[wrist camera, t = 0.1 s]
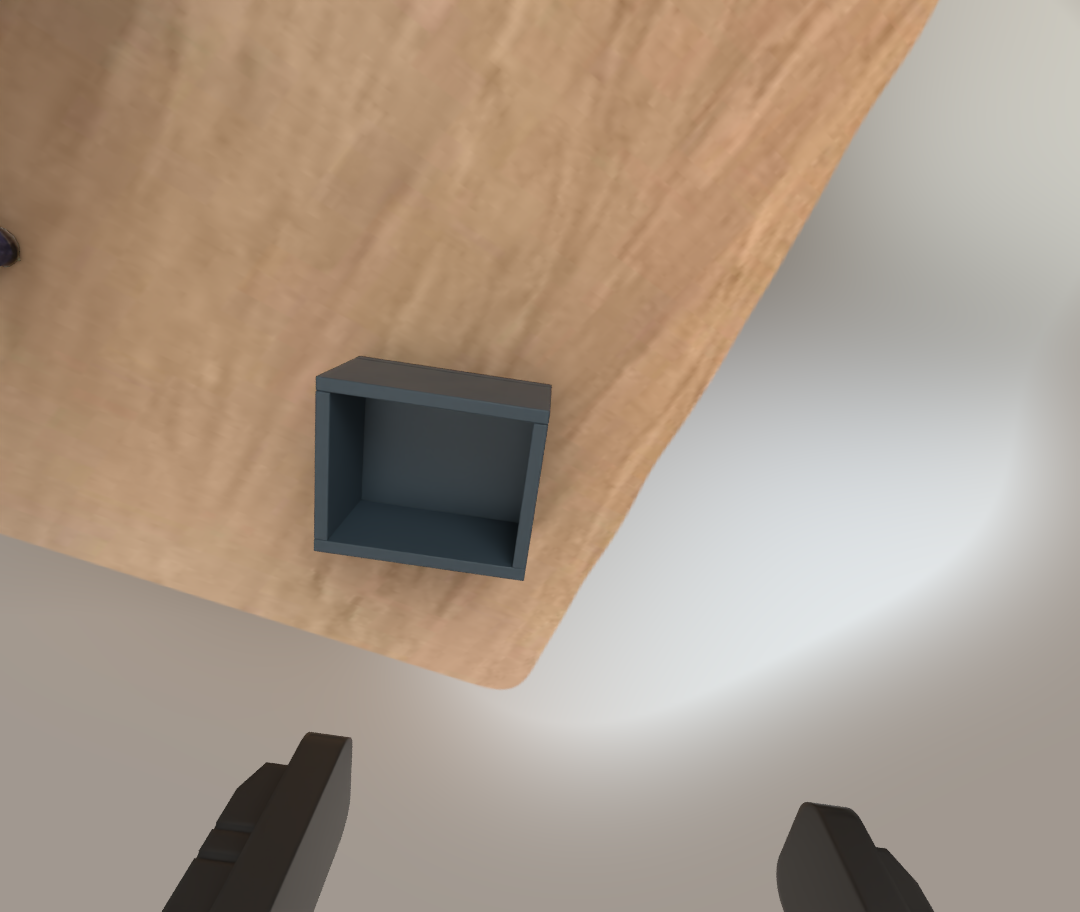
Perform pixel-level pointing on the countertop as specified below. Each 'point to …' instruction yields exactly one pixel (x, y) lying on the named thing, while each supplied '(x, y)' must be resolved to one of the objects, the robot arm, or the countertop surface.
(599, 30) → the countertop surface
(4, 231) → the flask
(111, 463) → the countertop surface
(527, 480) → the box
